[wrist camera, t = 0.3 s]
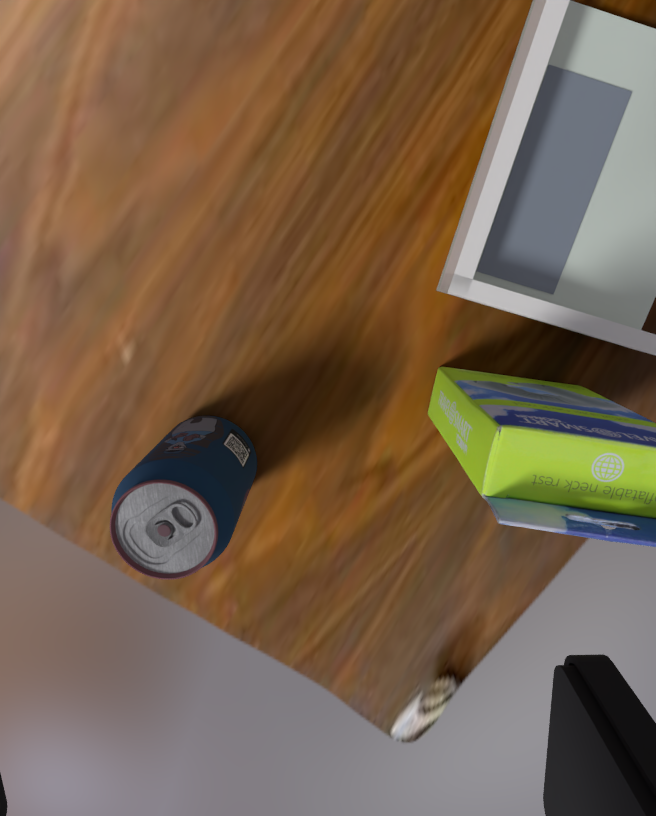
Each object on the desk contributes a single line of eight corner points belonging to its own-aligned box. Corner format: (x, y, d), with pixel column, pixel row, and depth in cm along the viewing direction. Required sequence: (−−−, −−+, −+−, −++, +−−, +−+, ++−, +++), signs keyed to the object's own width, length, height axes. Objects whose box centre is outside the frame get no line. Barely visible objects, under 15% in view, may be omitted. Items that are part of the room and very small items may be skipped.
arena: (534, -4, 32) (559, -39, 29) (747, 67, 33) (798, 43, 29) (436, 290, 37) (447, 292, 33) (626, 347, 38) (658, 356, 34)
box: (580, 382, 38) (770, 471, 22) (566, 436, 39) (736, 562, 23) (434, 361, 38) (511, 435, 21) (423, 417, 39) (489, 529, 22)
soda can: (207, 515, 41) (157, 612, 30) (147, 446, 40) (70, 519, 28) (278, 464, 40) (255, 544, 29) (219, 392, 39) (169, 445, 27)
